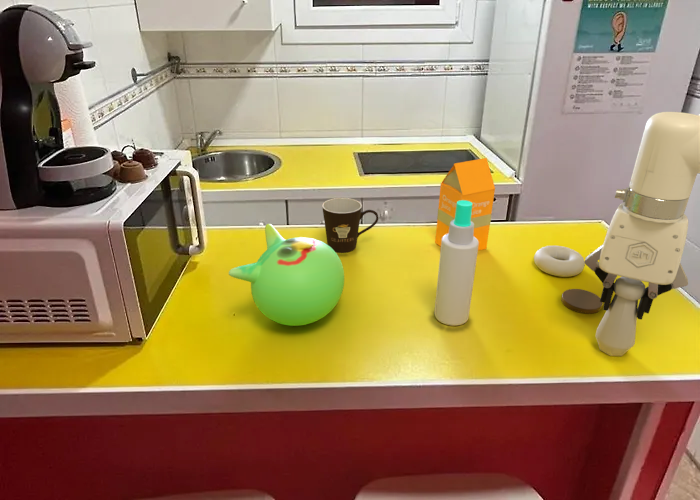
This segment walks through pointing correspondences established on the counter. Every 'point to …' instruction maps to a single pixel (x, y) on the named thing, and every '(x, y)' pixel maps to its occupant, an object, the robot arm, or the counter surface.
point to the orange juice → (467, 198)
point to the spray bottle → (457, 268)
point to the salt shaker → (620, 318)
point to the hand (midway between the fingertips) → (622, 309)
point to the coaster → (581, 301)
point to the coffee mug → (343, 223)
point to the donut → (559, 261)
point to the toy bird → (294, 279)
